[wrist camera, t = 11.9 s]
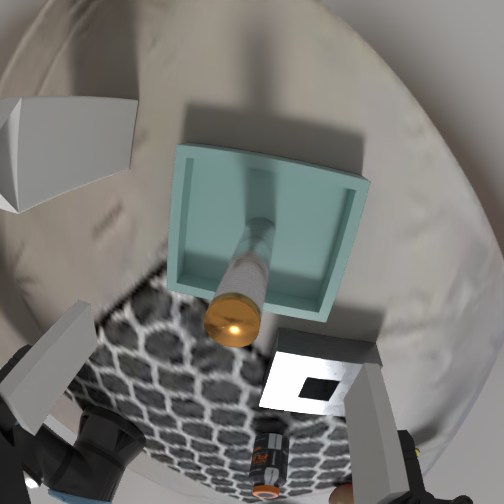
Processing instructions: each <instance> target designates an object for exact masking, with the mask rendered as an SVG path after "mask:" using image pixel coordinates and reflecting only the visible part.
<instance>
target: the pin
mask: <svg viewBox="0 0 504 504" xmlns="http://www.w3.org/2000/svg"><path fill="white" fill-rule="evenodd" d="M275 235H276V230H275V226H274V225H273V223H272V222H271V221H270V220H268V219H266V218H263V217H257V218H254V219H252V220H250V221H249V222H248V224H247V225H246V228H245V230H244V232H243V234H242V236H241V238H240V240H239V243H238V245H237V247H236V249H235V251H234V253H233V255H232V258H231V260H230V262H229V264H228V266H227V268H226V271H225V273H224V275H223V277H222V279H221V281H220V284H219V286H218V288H217V290H216V292H215V294H214V297H213V299H212V301H211V303H210V305H209V308H208V310H207V312H206V314H205V317H204V327H205V330H206V332H207V333H208V335H209V336H210V337H211V338H212V339H213V340H215V341H216V342H218V343H220V344H222V345H224V346H228V347H243V346H246V345H248V344H250V343H252V342H253V341H254V340H255V339H256V338H257V336H258V333H259V328H260V322H261V317H262V311H263V306H264V300H265V294H266V288H267V283H268V277H269V271H270V265H271V259H272V253H273V247H274V241H275Z"/></svg>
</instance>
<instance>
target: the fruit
mask: <svg viewBox="0 0 504 504" xmlns="http://www.w3.org/2000/svg"><path fill="white" fill-rule="evenodd" d="M329 504H354V496H353V484H351V483H347V484H343V485H340V486H339V487H337V488H336V489H334V491H333V492H332V493H331V495H330V497H329Z"/></svg>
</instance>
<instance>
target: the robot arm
mask: <svg viewBox="0 0 504 504" xmlns="http://www.w3.org/2000/svg"><path fill="white" fill-rule="evenodd" d="M97 346H98V342H97V337H96V332H95V326H94V321H93V315H92V309H91V304H90V303H87V302H85V301H82V300H78V301H77V302H76V303H75V304H74V305H73V306H72V307H71V308H69V309H68V310H67V311H66V312H65V313H64V314H63V315H62V316H61V317H60V319H59V320H58V321H57V322H56V323H55V324H54V325H53V326H52V327H51V328H50V329H49V330H48V331H47V332H46V333H45V334H44V335H43V336H42V337H41V338H40V339H39V340H38V341H37V342H36V344H35V345H34V346H33V347H32V346H30V345H29V344H28V345H26V346H24V347H22V348H21V349H19V350H18V351H17V352H16V353H15V354H14V355H13V358H11V359H10V360H9V361H8V363H6V364H5V365H4V366H3V368H2V369H1V370H0V504H31V501H30V498H29V494H28V490H30V489H39V487H40V485H41V483H43V484H44V485H46V486H47V487H49V488H50V489H48V494H49V495H51V496H52V497H54V498H56V499H58V500H60V501H62V502H64V503H66V504H112V500H113V498H114V495H115V492H116V490H117V488H118V485H119V483H120V480H121V478H122V476H123V473H124V471H125V469H126V467H127V465H128V464H129V463H130V462H131V461H132V460H133V459H134V458H135V457H136V456H137V455H138V454H139V453H140V452H141V451H142V450H143V448H144V445H145V443H146V440H145V437H144V436H143V434H142V433H141V432H140V431H139V430H138V429H137V428H136V427H135V426H133V425H132V424H131V423H129V422H128V421H126V420H125V419H123V418H122V417H120V416H118V415H116V414H114V413H112V412H110V411H108V410H106V409H103V408H100V407H96V406H88V407H86V408H85V410H84V411H83V413H82V415H81V418H80V424H79V430H78V437H77V440H76V441H75V443H74V445H73V446H72V445H70V444H69V443H68V442H66V441H65V440H64V439H63V438H61V437H60V436H59V435H57V434H56V433H55V432H54V431H53V430H51V429H50V428H49V427H48V426H47V425H45V424H44V423H43V422H44V421H45V419H46V417H47V416H48V415H49V413H50V412H51V410H52V409H53V407H54V406H55V404H56V403H57V401H58V400H59V398H60V397H61V396H62V394H63V393H64V391H65V390H66V388H67V387H68V385H69V384H70V383H71V381H72V380H73V378H74V377H75V376H76V374H77V373H78V372H79V370H80V369H81V367H82V366H83V365H84V363H85V362H86V361H87V359H88V358H89V357H90V355H91V354H92V353H93V351H94V350H95V349H96V347H97ZM343 401H344V408H345V416H346V424H347V432H348V441H349V450H350V460H351V471H352V482H353V496H354V504H473V501H472V500H471V499H470V498H469V497H468V496H466V495H461V496H459V497H457V498H455V499H453V500H443V499H436V498H434V496H433V495H432V494H430V493H429V492H426V490H425V487H424V483H423V479H422V474H421V470H420V465H419V461H418V459H417V453H416V451H415V450H416V449H415V445H414V441H413V438H412V437H411V435H410V434H409V433H408V431H407V430H397V428H396V424H395V420H394V416H393V412H392V409H391V405H390V401H389V397H388V394H387V390H386V387H385V383H384V380H383V376H382V373H381V370H380V366H379V364H373V363H364V364H363V366H362V368H361V370H360V372H359V373H358V375H357V377H356V379H355V380H354V382H353V384H352V386H351V387H350V389H349V391H348V392H347V394H346V396H345V397H344V399H343Z"/></svg>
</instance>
